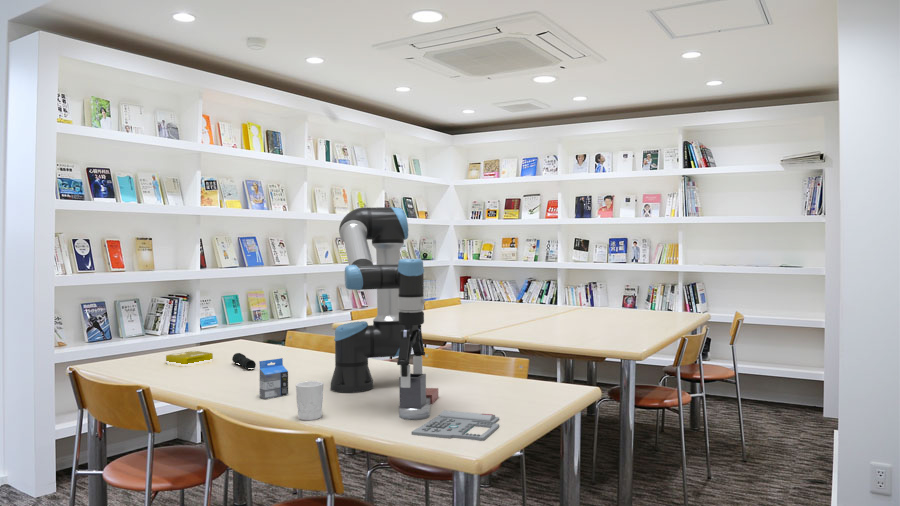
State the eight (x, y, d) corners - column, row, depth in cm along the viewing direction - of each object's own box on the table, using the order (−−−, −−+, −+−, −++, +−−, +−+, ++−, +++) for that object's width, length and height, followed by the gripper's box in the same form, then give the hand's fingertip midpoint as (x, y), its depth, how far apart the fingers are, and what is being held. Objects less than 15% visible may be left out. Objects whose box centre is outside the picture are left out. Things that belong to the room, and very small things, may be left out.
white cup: (298, 414, 193) (298, 381, 192) (325, 413, 193) (324, 380, 193) (294, 421, 185) (293, 387, 185) (322, 420, 185) (321, 386, 185)
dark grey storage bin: (420, 409, 185) (420, 378, 185) (399, 408, 187) (399, 377, 187) (426, 403, 192) (425, 373, 192) (405, 402, 193) (405, 373, 193)
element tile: (184, 368, 273) (184, 357, 273) (164, 365, 282) (164, 354, 282) (214, 362, 286) (214, 352, 286) (194, 359, 294) (194, 349, 294)
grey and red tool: (425, 420, 184) (425, 396, 184) (395, 419, 185) (395, 395, 185) (445, 397, 212) (445, 376, 212) (419, 396, 214) (419, 375, 214)
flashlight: (243, 363, 282) (243, 352, 282) (256, 370, 265) (256, 358, 265) (231, 364, 280) (231, 353, 280) (244, 371, 262) (244, 359, 262)
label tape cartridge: (264, 399, 212) (264, 362, 212) (259, 397, 215) (258, 361, 215) (288, 395, 218) (288, 359, 218) (283, 393, 221) (282, 357, 221)
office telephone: (443, 407, 192) (508, 412, 184) (444, 415, 192) (508, 421, 184) (411, 426, 170) (482, 433, 163) (411, 436, 170) (482, 443, 163)
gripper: (412, 316, 176) (412, 392, 176) (433, 306, 200) (434, 373, 201) (386, 315, 178) (386, 391, 178) (410, 306, 202) (411, 372, 202)
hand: (411, 382), depth 189 cm, fingers open, 13 cm apart
